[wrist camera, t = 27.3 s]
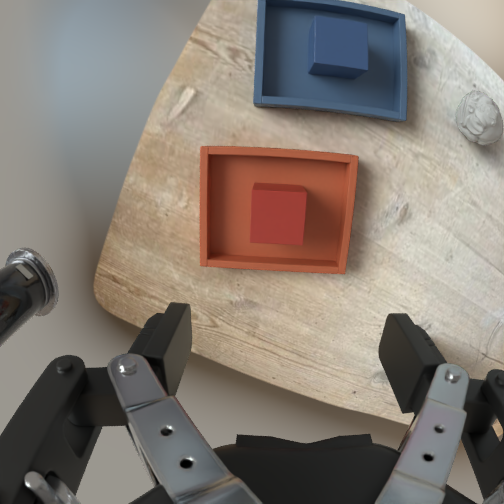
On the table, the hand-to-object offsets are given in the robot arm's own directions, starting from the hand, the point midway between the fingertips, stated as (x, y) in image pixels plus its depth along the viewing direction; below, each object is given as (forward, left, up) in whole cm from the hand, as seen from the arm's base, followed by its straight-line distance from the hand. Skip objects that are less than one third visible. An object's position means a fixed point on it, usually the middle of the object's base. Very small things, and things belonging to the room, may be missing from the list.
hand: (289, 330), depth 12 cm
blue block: (+5, +17, -23) cm, 29 cm away
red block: (0, 0, -23) cm, 23 cm away
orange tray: (0, 0, -24) cm, 24 cm away
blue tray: (+5, +17, -24) cm, 29 cm away
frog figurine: (+22, +13, -24) cm, 35 cm away
